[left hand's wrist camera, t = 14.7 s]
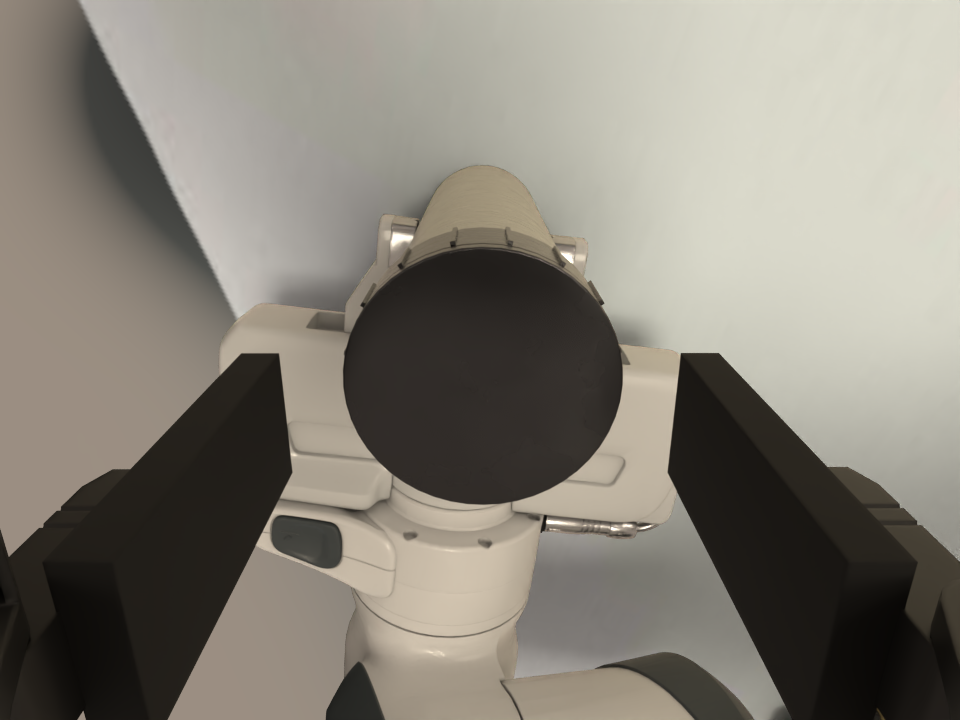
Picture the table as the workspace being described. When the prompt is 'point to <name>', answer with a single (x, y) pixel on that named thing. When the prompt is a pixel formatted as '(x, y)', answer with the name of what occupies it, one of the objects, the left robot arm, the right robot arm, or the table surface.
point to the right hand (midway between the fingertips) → (483, 228)
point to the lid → (482, 367)
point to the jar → (481, 205)
